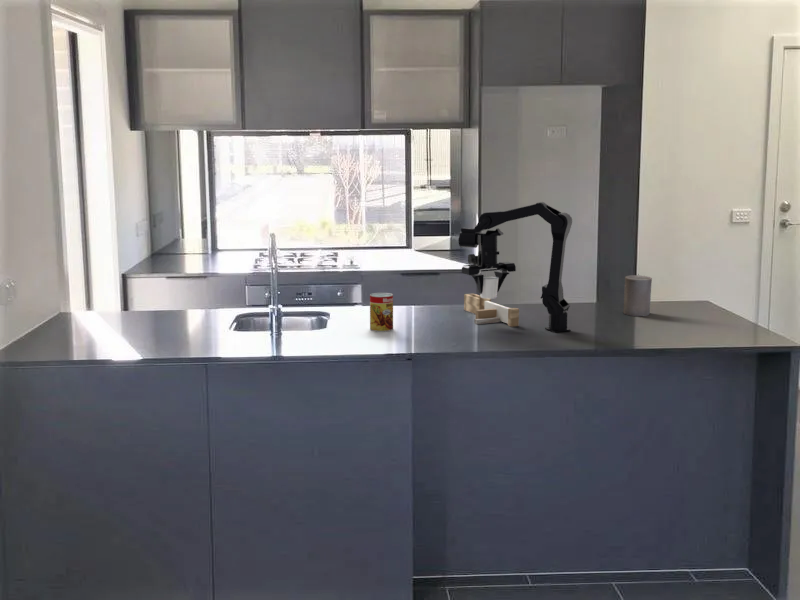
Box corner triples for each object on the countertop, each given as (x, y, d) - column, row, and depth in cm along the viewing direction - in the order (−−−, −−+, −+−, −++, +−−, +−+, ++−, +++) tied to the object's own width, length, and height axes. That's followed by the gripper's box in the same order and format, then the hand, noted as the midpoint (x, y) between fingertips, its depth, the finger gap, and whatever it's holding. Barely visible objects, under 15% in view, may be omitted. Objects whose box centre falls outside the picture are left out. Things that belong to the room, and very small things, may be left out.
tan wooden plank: (519, 325, 328) (520, 308, 327) (488, 328, 323) (488, 311, 322) (473, 309, 358) (473, 293, 357) (443, 311, 353) (443, 295, 352)
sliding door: (513, 323, 329) (513, 309, 329) (490, 326, 326) (490, 311, 325) (487, 314, 346) (488, 300, 345) (466, 316, 342) (466, 302, 341)
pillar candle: (617, 312, 352) (619, 272, 349) (638, 310, 356) (640, 271, 353) (634, 317, 343) (636, 276, 340) (655, 315, 347) (657, 274, 344)
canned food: (390, 331, 318) (390, 296, 316) (367, 330, 319) (367, 296, 317) (395, 327, 325) (395, 292, 323) (372, 326, 327) (372, 292, 325)
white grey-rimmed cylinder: (499, 298, 325) (499, 278, 324) (479, 299, 325) (479, 278, 324) (497, 295, 332) (497, 275, 331) (478, 295, 332) (478, 276, 331)
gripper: (500, 244, 337) (500, 287, 339) (454, 247, 329) (454, 291, 332) (516, 247, 327) (516, 292, 329) (469, 250, 319) (469, 296, 322)
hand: (488, 292), depth 328 cm, fingers closed on white grey-rimmed cylinder, 6 cm apart
